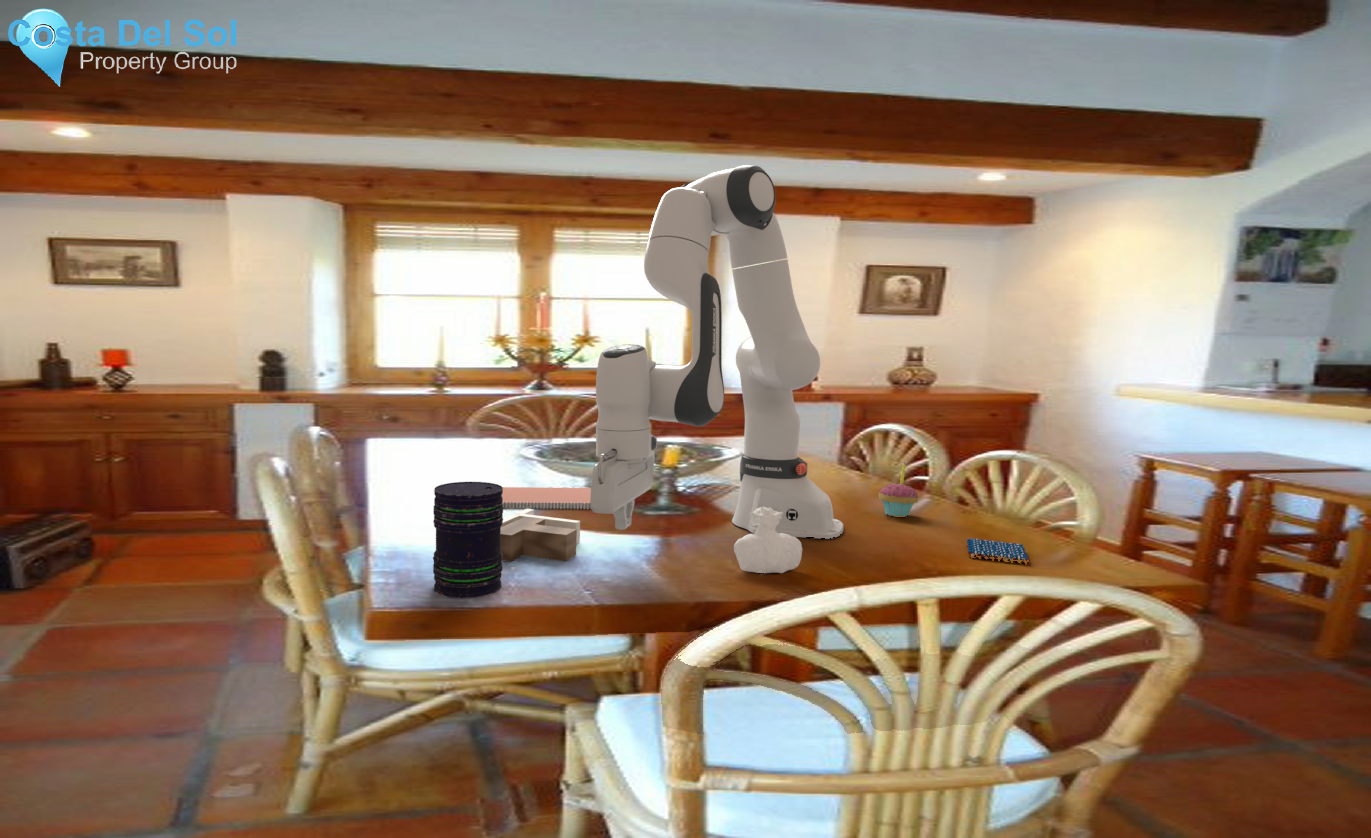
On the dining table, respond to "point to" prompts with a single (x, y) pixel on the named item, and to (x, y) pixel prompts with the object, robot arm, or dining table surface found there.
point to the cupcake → (898, 497)
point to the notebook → (546, 498)
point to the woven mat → (996, 549)
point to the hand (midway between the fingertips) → (623, 527)
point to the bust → (767, 546)
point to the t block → (537, 540)
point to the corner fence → (548, 521)
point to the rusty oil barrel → (468, 539)
